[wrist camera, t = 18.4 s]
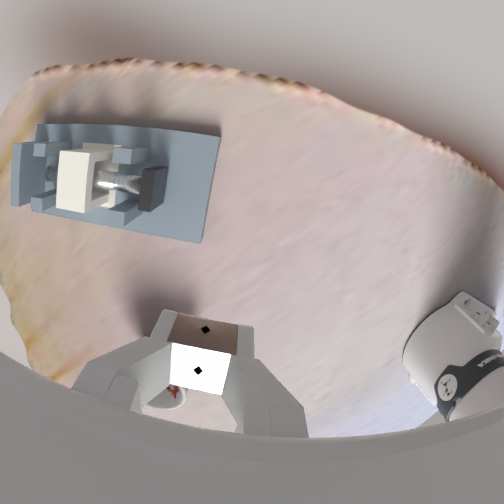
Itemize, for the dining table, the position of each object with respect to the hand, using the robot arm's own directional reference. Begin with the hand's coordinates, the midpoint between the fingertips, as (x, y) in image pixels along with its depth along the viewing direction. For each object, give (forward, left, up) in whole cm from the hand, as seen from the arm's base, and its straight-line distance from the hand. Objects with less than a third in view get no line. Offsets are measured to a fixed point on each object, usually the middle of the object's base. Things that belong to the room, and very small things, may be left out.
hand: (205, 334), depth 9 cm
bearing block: (+15, -1, -21) cm, 26 cm away
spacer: (+15, -1, -20) cm, 25 cm away
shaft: (+14, -1, -19) cm, 24 cm away
